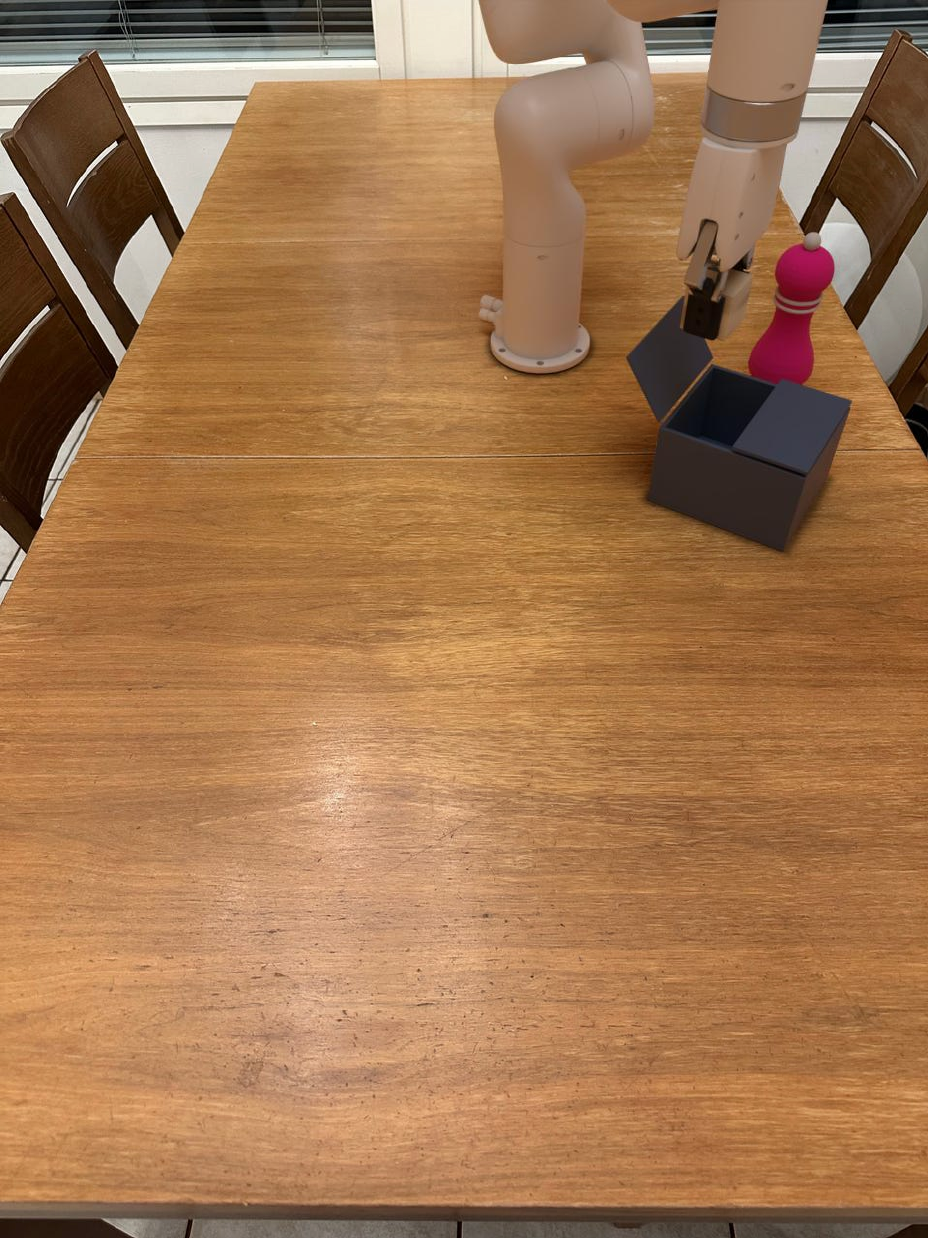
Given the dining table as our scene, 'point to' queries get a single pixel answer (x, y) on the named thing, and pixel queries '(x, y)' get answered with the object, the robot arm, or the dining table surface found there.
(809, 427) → the carton
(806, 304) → the pepper mill
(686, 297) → the block
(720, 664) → the dining table surface
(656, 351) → the flap
